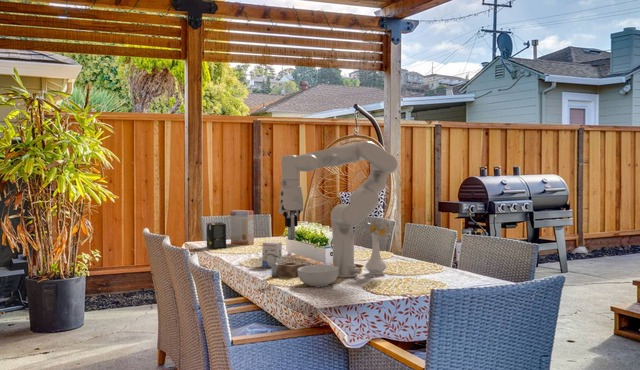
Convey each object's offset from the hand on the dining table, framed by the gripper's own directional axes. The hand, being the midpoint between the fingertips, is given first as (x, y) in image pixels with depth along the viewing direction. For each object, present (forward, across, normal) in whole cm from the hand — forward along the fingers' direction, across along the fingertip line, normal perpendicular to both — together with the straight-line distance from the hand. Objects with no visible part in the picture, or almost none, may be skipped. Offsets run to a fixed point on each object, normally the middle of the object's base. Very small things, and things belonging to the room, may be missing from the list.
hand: (291, 226), depth 256 cm
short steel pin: (+23, -2, +9) cm, 25 cm away
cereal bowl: (+23, 0, -16) cm, 29 cm away
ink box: (+23, +14, +32) cm, 42 cm away
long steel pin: (+6, 0, 0) cm, 6 cm away
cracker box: (+23, +50, +105) cm, 119 cm away
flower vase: (+24, +35, -18) cm, 46 cm away
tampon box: (+23, +30, +104) cm, 110 cm away
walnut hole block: (+23, +6, +8) cm, 25 cm away
